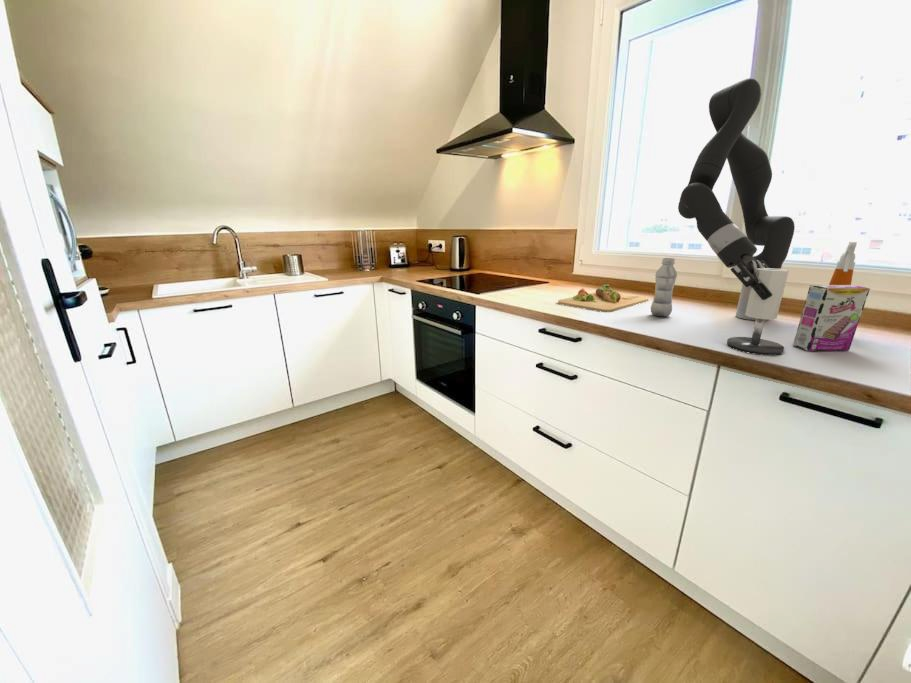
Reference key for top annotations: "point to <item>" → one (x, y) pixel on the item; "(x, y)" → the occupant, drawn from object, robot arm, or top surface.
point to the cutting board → (603, 300)
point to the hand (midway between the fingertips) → (773, 296)
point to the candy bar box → (830, 317)
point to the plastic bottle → (664, 288)
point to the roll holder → (756, 342)
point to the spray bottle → (845, 267)
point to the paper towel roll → (770, 306)
